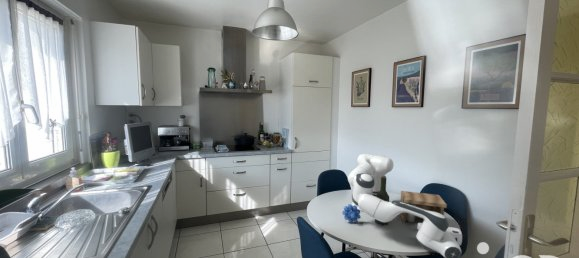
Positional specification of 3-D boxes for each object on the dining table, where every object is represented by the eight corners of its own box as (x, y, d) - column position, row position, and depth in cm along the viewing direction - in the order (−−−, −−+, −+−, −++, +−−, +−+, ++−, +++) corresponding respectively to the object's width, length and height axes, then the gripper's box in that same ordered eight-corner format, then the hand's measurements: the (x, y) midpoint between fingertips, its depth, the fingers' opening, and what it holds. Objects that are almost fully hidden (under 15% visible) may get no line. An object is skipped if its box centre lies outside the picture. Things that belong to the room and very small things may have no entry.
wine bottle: (372, 218, 153) (374, 174, 151) (385, 219, 153) (388, 174, 150) (376, 225, 145) (379, 177, 142) (390, 225, 144) (393, 178, 142)
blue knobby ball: (344, 226, 143) (344, 207, 142) (341, 220, 150) (341, 202, 149) (362, 225, 144) (363, 207, 143) (358, 220, 150) (359, 202, 149)
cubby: (403, 226, 144) (404, 199, 142) (399, 215, 159) (401, 190, 158) (444, 232, 137) (446, 204, 136) (436, 220, 152) (438, 194, 151)
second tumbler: (404, 220, 151) (405, 204, 150) (403, 216, 157) (404, 200, 156) (415, 222, 149) (416, 205, 148) (413, 218, 155) (414, 202, 154)
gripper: (419, 238, 125) (414, 226, 138) (464, 246, 119) (454, 232, 132) (420, 227, 124) (415, 216, 138) (465, 234, 118) (455, 221, 131)
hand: (434, 224), depth 135 cm, fingers open, 8 cm apart
